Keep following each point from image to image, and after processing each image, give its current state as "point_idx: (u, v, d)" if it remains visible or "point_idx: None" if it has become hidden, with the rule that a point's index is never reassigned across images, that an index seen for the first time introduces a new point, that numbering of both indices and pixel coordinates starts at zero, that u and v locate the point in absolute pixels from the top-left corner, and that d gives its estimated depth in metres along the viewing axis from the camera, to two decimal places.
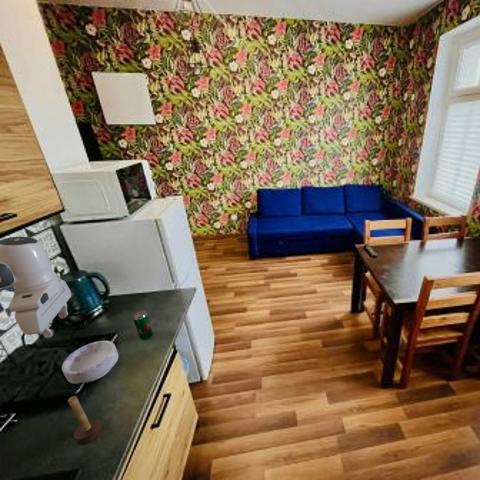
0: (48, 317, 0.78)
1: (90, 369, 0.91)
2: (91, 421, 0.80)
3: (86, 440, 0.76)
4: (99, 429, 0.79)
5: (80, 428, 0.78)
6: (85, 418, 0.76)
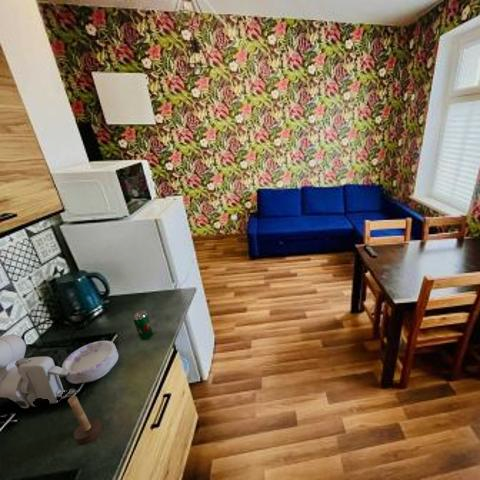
0: (48, 398, 0.87)
1: (90, 369, 0.91)
2: (91, 421, 0.80)
3: (86, 440, 0.76)
4: (99, 429, 0.79)
5: (80, 428, 0.78)
6: (85, 418, 0.76)
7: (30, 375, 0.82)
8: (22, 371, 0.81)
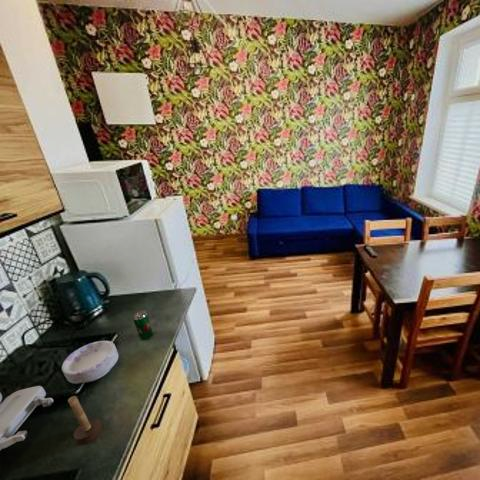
0: None
1: (90, 369, 0.91)
2: (91, 421, 0.80)
3: (86, 440, 0.76)
4: (99, 429, 0.79)
5: (80, 428, 0.78)
6: (85, 418, 0.76)
7: (12, 402, 0.76)
8: (12, 396, 0.78)
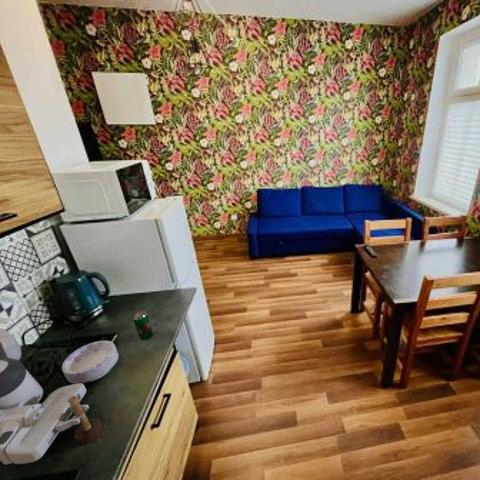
0: (40, 433, 0.69)
1: (90, 369, 0.91)
2: (91, 421, 0.80)
3: (86, 440, 0.76)
4: (99, 429, 0.79)
5: (80, 428, 0.78)
6: (85, 418, 0.76)
7: (56, 399, 0.78)
8: (55, 393, 0.80)
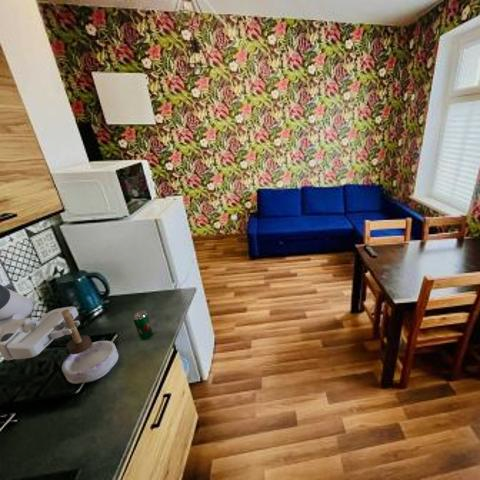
0: (37, 336, 0.80)
1: (90, 369, 0.91)
2: (82, 337, 0.91)
3: (77, 350, 0.87)
4: (89, 343, 0.90)
5: (72, 341, 0.89)
6: (76, 331, 0.87)
7: (51, 316, 0.89)
8: (51, 312, 0.91)
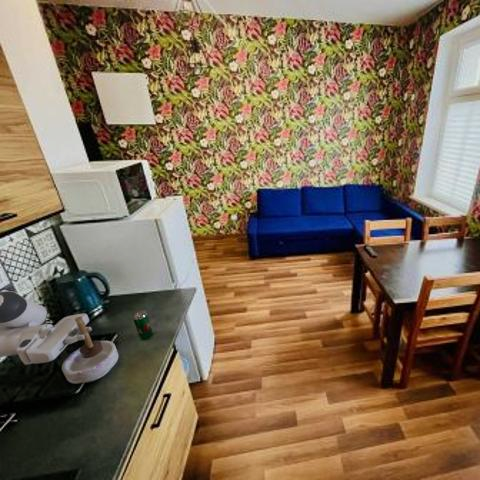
0: (53, 342, 0.87)
1: (90, 369, 0.91)
2: (93, 342, 0.97)
3: (89, 354, 0.93)
4: (100, 348, 0.96)
5: (84, 346, 0.95)
6: (88, 337, 0.94)
7: (65, 323, 0.96)
8: (64, 319, 0.97)
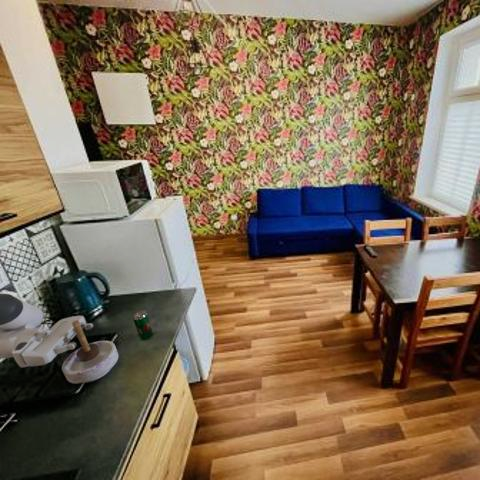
0: (49, 344, 0.86)
1: (90, 369, 0.91)
2: (90, 345, 0.97)
3: (86, 358, 0.93)
4: (97, 351, 0.96)
5: (81, 350, 0.95)
6: (85, 340, 0.94)
7: (61, 325, 0.95)
8: (60, 321, 0.97)
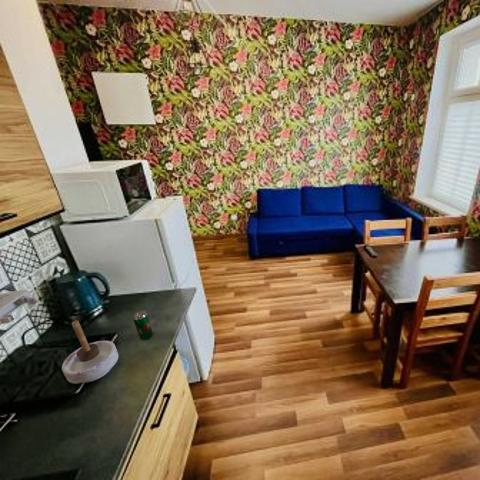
0: None
1: (90, 369, 0.91)
2: (90, 345, 0.97)
3: (86, 358, 0.93)
4: (97, 351, 0.96)
5: (81, 350, 0.95)
6: (85, 340, 0.94)
7: (1, 299, 0.88)
8: (1, 295, 0.90)
